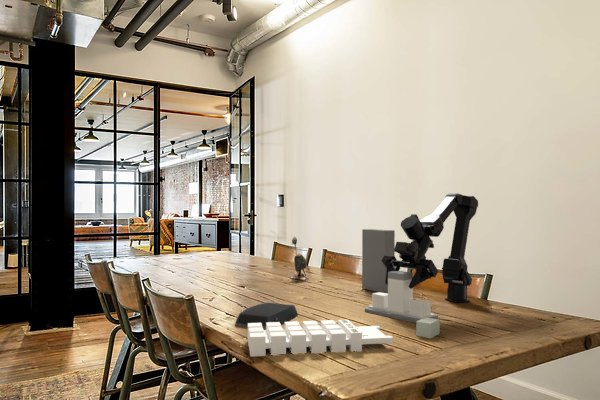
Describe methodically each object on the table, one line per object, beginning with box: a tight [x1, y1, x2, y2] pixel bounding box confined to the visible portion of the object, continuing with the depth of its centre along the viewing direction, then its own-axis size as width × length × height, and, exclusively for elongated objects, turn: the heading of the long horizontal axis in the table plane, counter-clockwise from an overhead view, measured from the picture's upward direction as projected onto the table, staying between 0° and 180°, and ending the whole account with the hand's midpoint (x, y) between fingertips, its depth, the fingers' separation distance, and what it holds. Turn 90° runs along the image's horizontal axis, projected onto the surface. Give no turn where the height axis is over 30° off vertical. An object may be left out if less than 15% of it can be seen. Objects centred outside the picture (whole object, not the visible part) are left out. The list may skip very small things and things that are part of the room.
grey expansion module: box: [387, 270, 414, 313], centre depth 152 cm, size 5×6×12 cm
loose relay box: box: [415, 317, 441, 339], centre depth 129 cm, size 6×4×4 cm, turn 141°
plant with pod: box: [289, 236, 309, 280], centre depth 225 cm, size 8×11×20 cm
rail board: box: [364, 292, 439, 324], centre depth 152 cm, size 10×21×6 cm, turn 41°
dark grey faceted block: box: [234, 302, 299, 330], centre depth 145 cm, size 13×19×4 cm
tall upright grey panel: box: [361, 228, 396, 294], centre depth 195 cm, size 14×6×25 cm, turn 34°
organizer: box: [247, 319, 394, 357], centre depth 119 cm, size 13×5×35 cm
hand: (397, 286), depth 151 cm, fingers open, 9 cm apart
